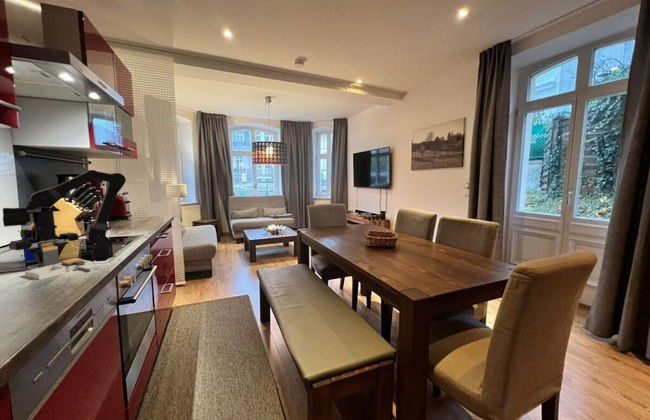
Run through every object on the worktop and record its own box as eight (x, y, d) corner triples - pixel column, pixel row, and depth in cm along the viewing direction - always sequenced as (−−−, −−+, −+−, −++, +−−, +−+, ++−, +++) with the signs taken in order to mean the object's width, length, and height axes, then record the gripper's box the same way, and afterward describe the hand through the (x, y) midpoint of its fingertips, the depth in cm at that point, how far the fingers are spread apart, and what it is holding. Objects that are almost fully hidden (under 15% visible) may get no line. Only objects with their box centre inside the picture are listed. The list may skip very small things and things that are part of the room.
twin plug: (76, 266, 109) (75, 257, 109) (95, 270, 105) (94, 261, 105) (62, 269, 105) (61, 260, 105) (81, 273, 101) (80, 264, 101)
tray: (57, 262, 113) (56, 259, 113) (69, 265, 110) (69, 262, 110) (27, 269, 105) (27, 266, 105) (40, 272, 102) (40, 269, 102)
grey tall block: (53, 263, 110) (51, 245, 109) (59, 265, 109) (57, 246, 108) (38, 267, 106) (36, 247, 105) (45, 268, 104) (42, 249, 104)
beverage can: (46, 259, 117) (42, 225, 115) (32, 263, 112) (27, 228, 110) (35, 258, 118) (31, 225, 116) (21, 262, 113) (16, 227, 111)
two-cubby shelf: (78, 263, 112) (78, 258, 112) (92, 266, 109) (91, 261, 109) (25, 276, 97) (24, 271, 97) (39, 280, 94) (38, 274, 94)
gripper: (62, 218, 117) (65, 253, 119) (-2, 225, 99) (4, 266, 101) (77, 220, 113) (81, 256, 115) (14, 228, 95) (20, 270, 97)
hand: (48, 261), depth 107 cm, fingers closed on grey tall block, 4 cm apart
